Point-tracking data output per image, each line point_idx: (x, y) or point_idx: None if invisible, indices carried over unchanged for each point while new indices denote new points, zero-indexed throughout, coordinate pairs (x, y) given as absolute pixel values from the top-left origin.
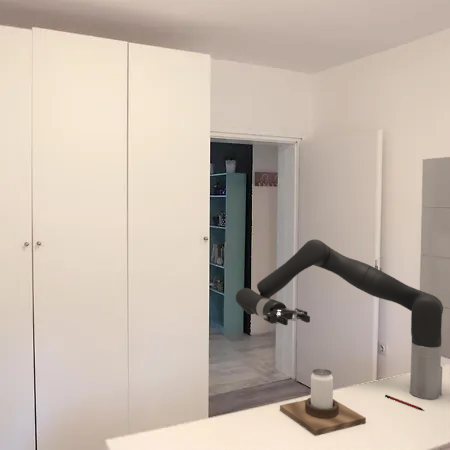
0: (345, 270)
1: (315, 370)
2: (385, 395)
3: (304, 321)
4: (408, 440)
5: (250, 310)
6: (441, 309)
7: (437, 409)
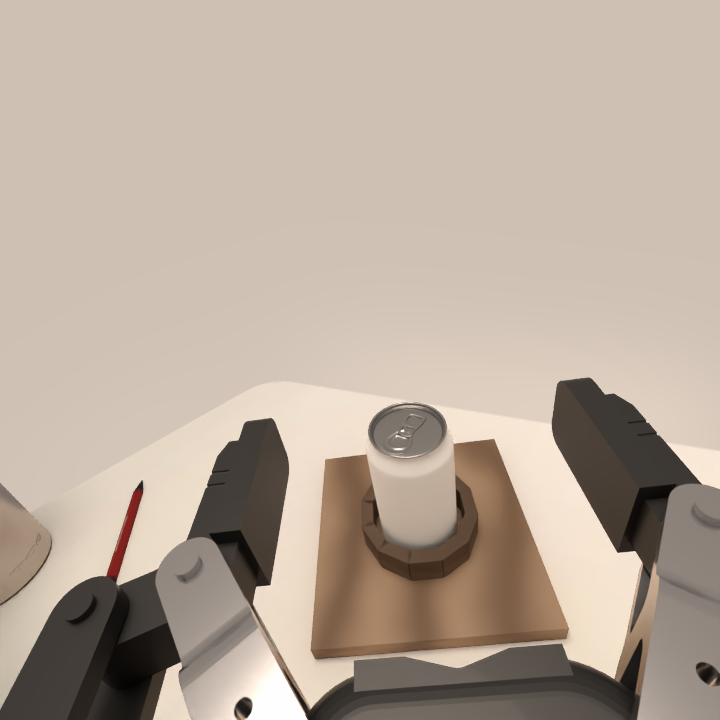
0: None
1: (418, 456)
2: None
3: (281, 517)
4: (309, 398)
5: None
6: None
7: (108, 480)
